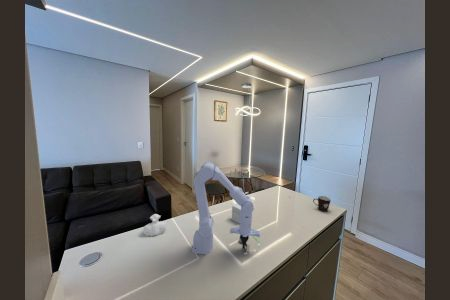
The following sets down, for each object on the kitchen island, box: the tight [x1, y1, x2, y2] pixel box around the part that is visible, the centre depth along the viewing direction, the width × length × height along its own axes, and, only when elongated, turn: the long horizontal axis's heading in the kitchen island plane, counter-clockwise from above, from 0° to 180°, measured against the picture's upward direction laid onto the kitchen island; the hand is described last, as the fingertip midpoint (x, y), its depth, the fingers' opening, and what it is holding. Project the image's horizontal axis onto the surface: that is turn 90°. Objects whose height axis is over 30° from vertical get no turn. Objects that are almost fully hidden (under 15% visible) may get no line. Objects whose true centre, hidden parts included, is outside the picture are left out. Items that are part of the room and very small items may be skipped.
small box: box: [231, 203, 241, 225], centre depth 109 cm, size 8×6×10 cm
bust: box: [143, 213, 168, 237], centre depth 95 cm, size 12×8×11 cm
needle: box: [238, 237, 251, 253], centre depth 86 cm, size 9×4×4 cm, turn 15°
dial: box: [243, 236, 261, 255], centre depth 90 cm, size 18×18×1 cm
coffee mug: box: [312, 195, 332, 213], centre depth 131 cm, size 12×9×10 cm
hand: (243, 247), depth 83 cm, fingers closed, pressing on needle
